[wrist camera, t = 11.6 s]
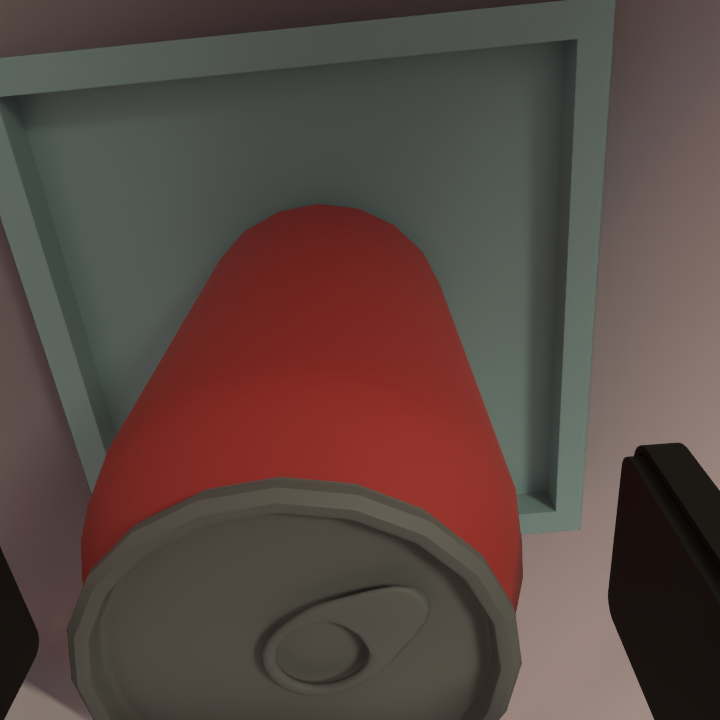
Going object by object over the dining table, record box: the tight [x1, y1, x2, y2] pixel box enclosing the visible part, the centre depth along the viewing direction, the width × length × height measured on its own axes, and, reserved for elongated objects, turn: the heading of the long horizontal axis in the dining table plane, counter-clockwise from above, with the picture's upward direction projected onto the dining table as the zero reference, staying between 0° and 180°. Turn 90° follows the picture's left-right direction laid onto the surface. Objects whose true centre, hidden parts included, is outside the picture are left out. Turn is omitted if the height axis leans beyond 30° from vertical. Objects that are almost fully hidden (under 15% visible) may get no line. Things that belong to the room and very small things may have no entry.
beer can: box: [67, 204, 523, 720], centre depth 14 cm, size 7×7×12 cm
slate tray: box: [0, 0, 616, 534], centre depth 19 cm, size 15×15×2 cm
